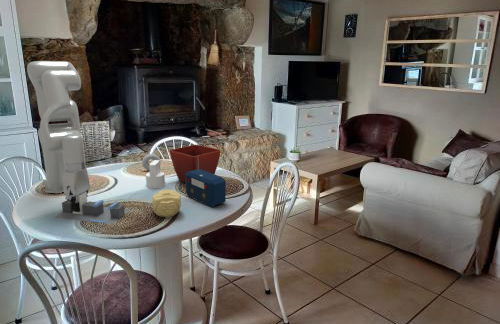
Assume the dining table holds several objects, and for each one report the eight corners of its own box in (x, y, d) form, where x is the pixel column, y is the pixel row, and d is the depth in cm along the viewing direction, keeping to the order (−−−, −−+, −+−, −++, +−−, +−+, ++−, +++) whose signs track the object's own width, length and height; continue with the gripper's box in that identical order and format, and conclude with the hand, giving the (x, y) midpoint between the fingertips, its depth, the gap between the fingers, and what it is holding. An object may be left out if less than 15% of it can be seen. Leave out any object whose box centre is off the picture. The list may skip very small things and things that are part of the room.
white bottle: (72, 213, 147) (70, 189, 144) (79, 209, 150) (76, 186, 148) (81, 214, 146) (79, 190, 143) (87, 210, 150) (85, 187, 147)
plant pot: (196, 173, 206) (196, 143, 201) (221, 180, 194) (221, 149, 190) (169, 181, 192) (168, 149, 187) (194, 189, 180) (194, 156, 175)
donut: (143, 172, 205) (142, 155, 202) (142, 170, 208) (141, 153, 205) (161, 170, 208) (160, 153, 206) (160, 169, 211) (159, 152, 209)
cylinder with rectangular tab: (162, 188, 180) (161, 165, 177) (144, 188, 181) (142, 164, 177) (166, 182, 189) (165, 160, 186) (149, 182, 189) (148, 159, 186)
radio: (183, 195, 172) (182, 154, 166) (198, 191, 178) (197, 151, 172) (211, 209, 158) (211, 164, 152) (227, 203, 164) (227, 161, 158)
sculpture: (153, 221, 145) (152, 196, 142) (152, 209, 156) (151, 185, 153) (182, 218, 148) (181, 193, 145) (179, 207, 159) (178, 183, 156)
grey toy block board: (54, 220, 143) (52, 205, 142) (77, 206, 156) (76, 192, 155) (112, 227, 139) (111, 211, 137) (131, 213, 152) (130, 198, 150)
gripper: (80, 159, 151) (84, 200, 157) (51, 171, 136) (57, 216, 141) (96, 161, 150) (100, 202, 155) (69, 172, 134) (74, 218, 139)
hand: (80, 208), depth 148 cm, fingers closed on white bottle, 4 cm apart
